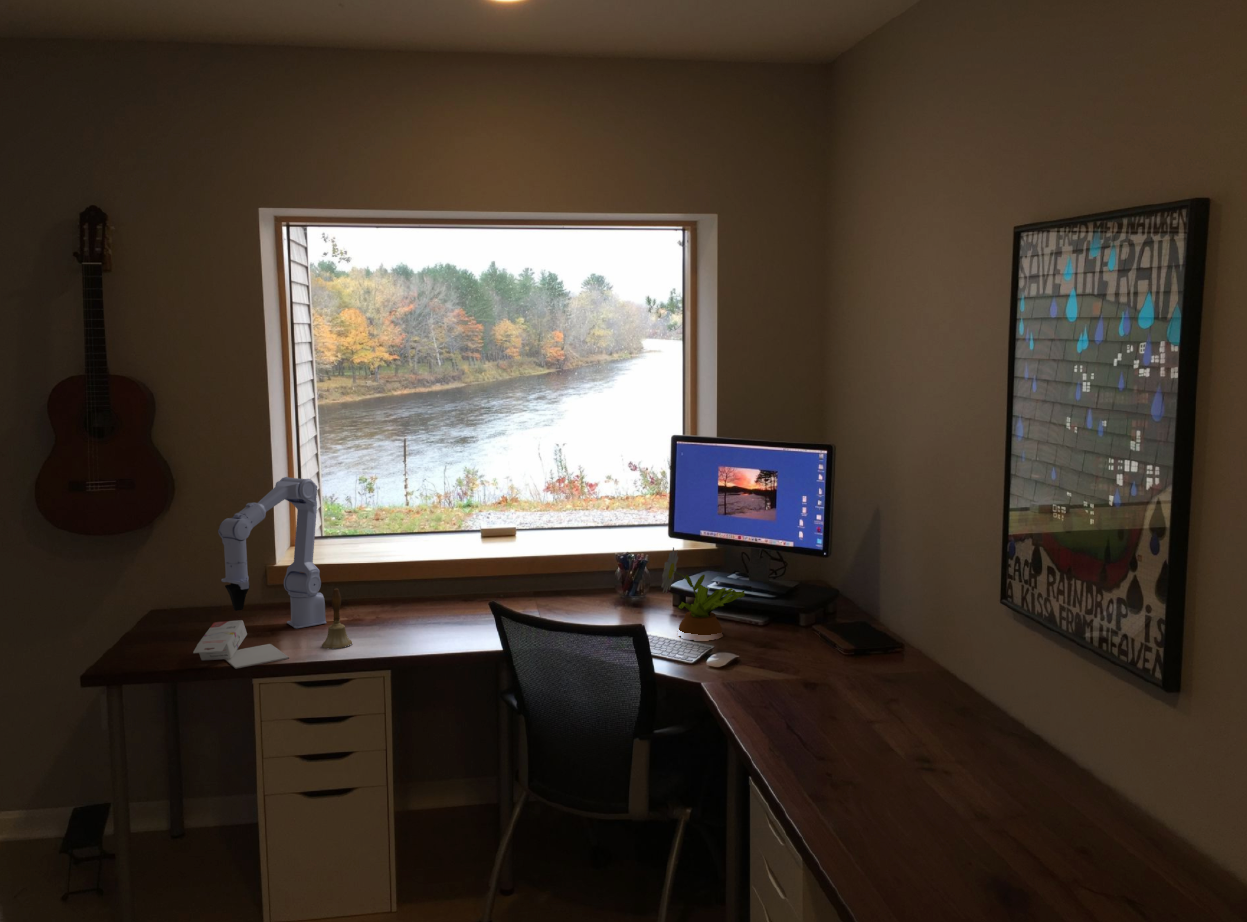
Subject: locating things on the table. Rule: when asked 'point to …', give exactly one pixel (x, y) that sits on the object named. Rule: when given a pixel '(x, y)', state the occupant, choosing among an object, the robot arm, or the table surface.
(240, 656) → the mat
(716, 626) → the decorative plant
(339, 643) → the hand bell
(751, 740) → the table surface
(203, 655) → the ink cartridge box
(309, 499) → the robot arm
